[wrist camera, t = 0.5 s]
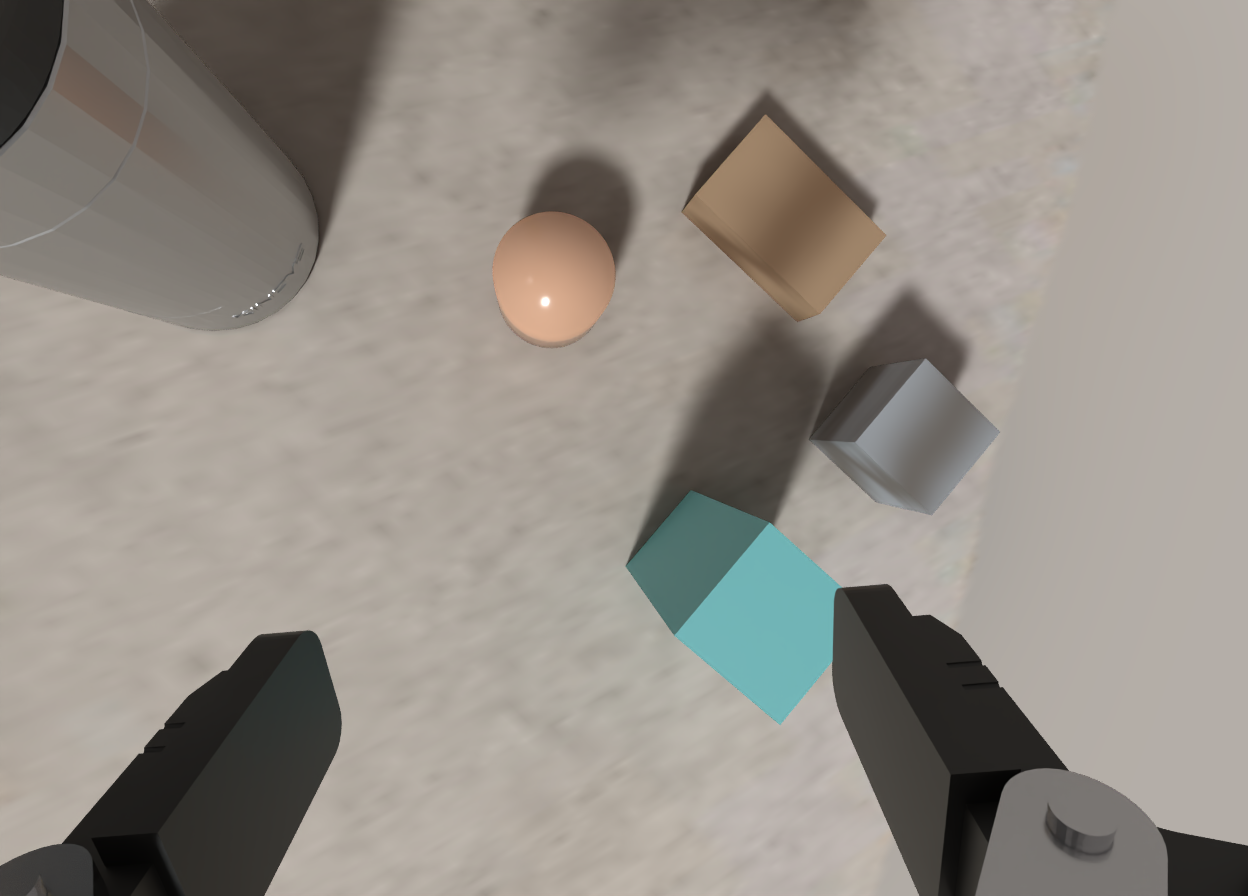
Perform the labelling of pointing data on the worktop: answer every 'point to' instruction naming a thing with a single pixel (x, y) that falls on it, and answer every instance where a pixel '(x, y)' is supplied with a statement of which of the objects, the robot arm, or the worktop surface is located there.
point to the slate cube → (905, 435)
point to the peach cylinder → (552, 278)
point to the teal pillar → (741, 600)
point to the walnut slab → (784, 221)
